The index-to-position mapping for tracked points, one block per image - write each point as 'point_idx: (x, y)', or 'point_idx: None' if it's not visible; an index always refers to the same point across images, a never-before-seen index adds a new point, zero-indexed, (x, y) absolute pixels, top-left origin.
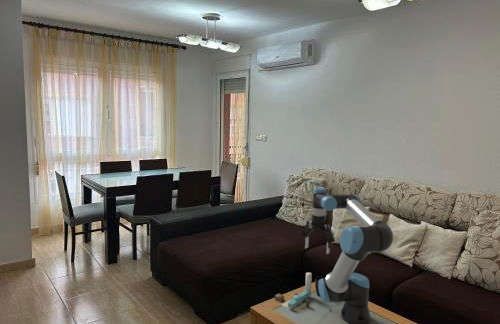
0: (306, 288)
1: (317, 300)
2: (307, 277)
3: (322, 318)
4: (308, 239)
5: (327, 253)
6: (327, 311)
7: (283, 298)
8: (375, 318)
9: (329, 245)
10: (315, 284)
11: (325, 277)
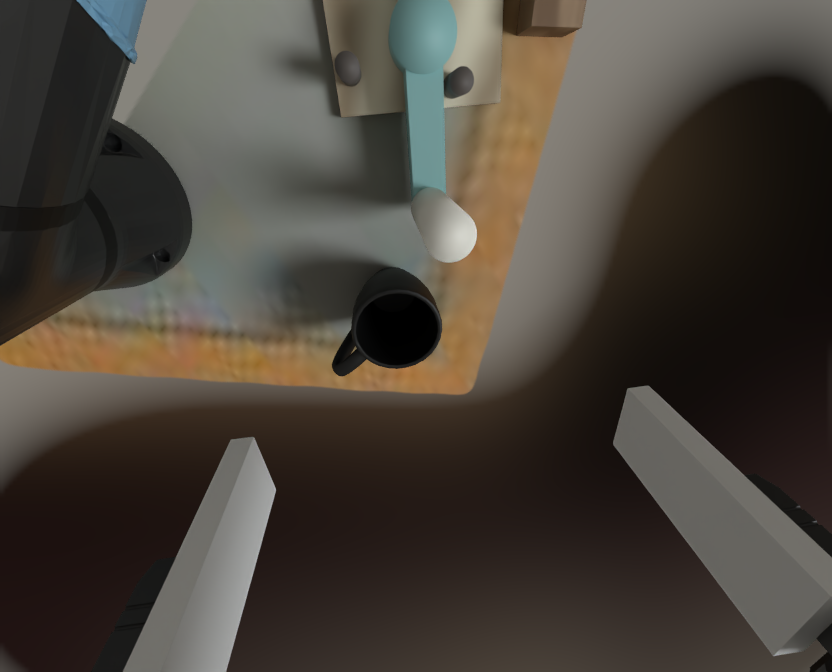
0: (434, 189)
1: (370, 218)
2: (443, 204)
3: (201, 25)
4: (716, 572)
5: (228, 446)
6: (248, 143)
7: (526, 20)
8: None
9: (133, 631)
10: (422, 285)
11: (398, 366)
